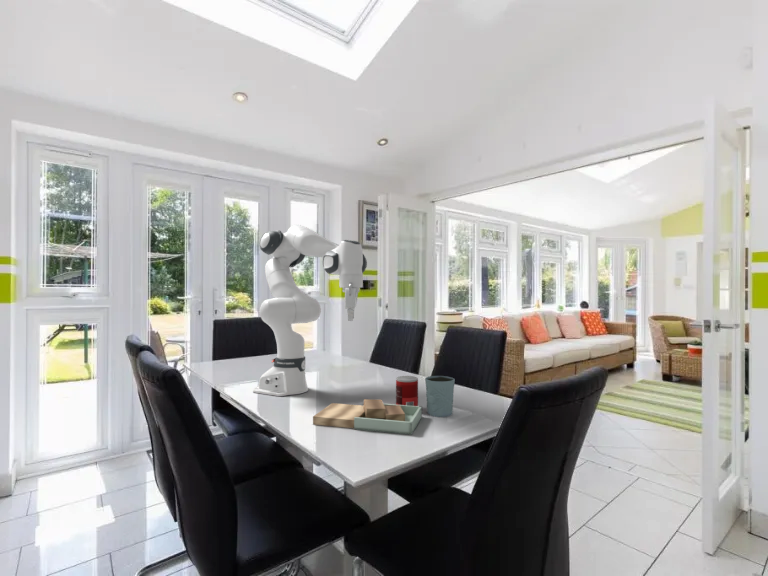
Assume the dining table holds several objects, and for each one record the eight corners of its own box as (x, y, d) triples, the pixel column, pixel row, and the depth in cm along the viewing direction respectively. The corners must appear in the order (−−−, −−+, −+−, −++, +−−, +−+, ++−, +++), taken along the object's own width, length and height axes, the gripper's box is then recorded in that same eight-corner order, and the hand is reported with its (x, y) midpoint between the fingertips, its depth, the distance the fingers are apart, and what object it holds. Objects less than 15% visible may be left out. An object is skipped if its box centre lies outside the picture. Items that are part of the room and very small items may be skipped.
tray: (354, 429, 128) (354, 417, 128) (370, 412, 145) (370, 402, 145) (411, 434, 124) (411, 422, 124) (421, 416, 141) (421, 406, 141)
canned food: (421, 407, 151) (421, 377, 151) (410, 413, 145) (410, 381, 145) (403, 404, 156) (403, 374, 156) (391, 409, 149) (391, 378, 149)
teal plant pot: (426, 417, 140) (426, 381, 140) (423, 408, 150) (423, 375, 150) (456, 417, 140) (456, 381, 140) (452, 408, 150) (452, 375, 150)
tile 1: (366, 418, 132) (366, 408, 132) (363, 408, 142) (363, 399, 142) (385, 418, 132) (385, 408, 132) (381, 408, 142) (381, 399, 142)
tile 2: (386, 424, 131) (386, 414, 131) (381, 414, 141) (381, 405, 141) (404, 423, 132) (404, 414, 132) (399, 414, 142) (399, 405, 142)
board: (313, 424, 133) (313, 416, 133) (332, 410, 148) (332, 403, 148) (355, 428, 129) (355, 420, 129) (370, 413, 144) (370, 406, 144)
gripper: (359, 282, 148) (358, 322, 148) (359, 283, 168) (359, 317, 168) (341, 282, 147) (340, 322, 147) (344, 283, 168) (343, 317, 168)
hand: (350, 319), depth 158 cm, fingers open, 8 cm apart
